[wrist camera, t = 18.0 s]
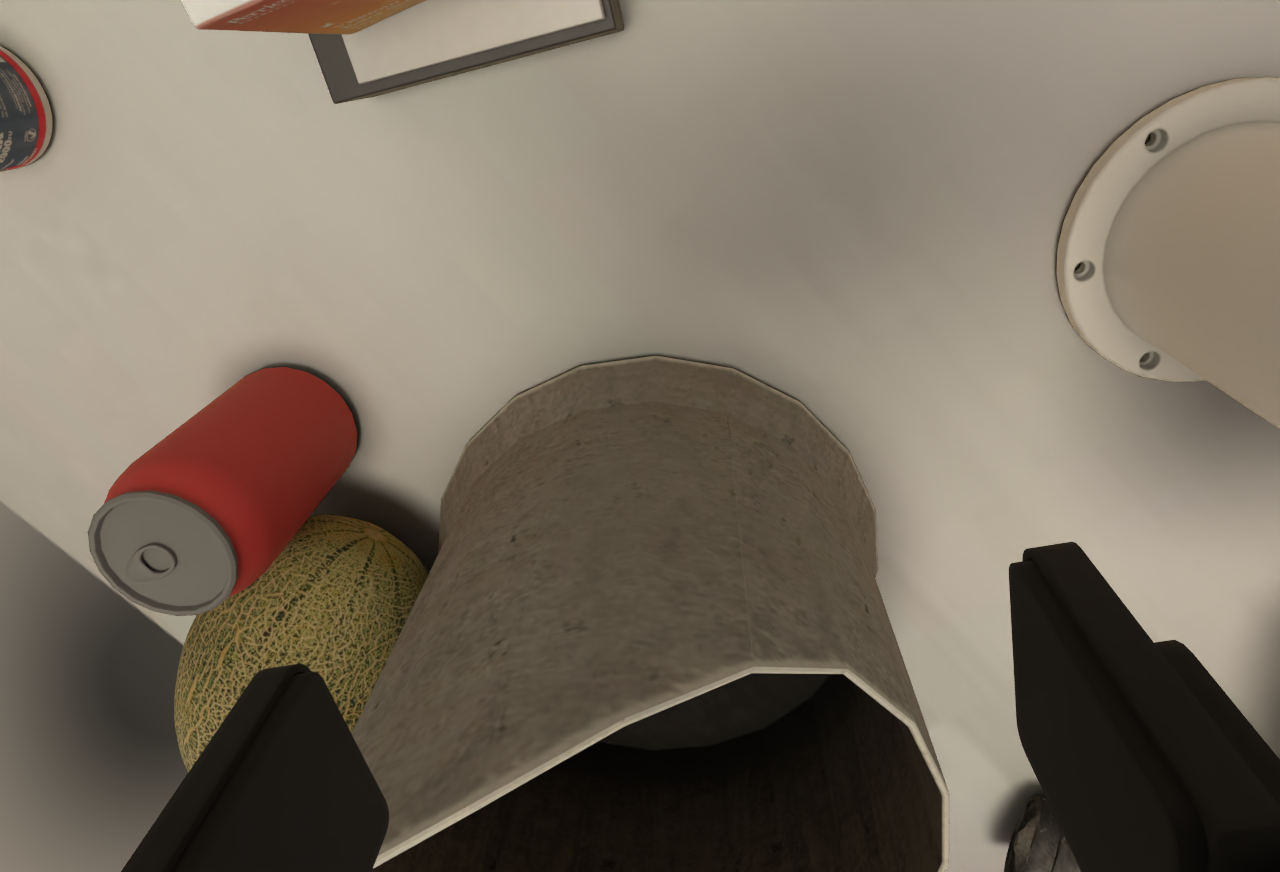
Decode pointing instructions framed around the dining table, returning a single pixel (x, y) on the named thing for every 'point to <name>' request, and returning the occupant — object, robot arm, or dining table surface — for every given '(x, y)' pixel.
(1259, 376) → the robot arm
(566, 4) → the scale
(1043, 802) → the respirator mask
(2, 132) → the pill bottle
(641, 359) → the grey fabric bucket
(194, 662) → the fruit
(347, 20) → the small box
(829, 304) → the dining table surface
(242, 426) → the beer can
